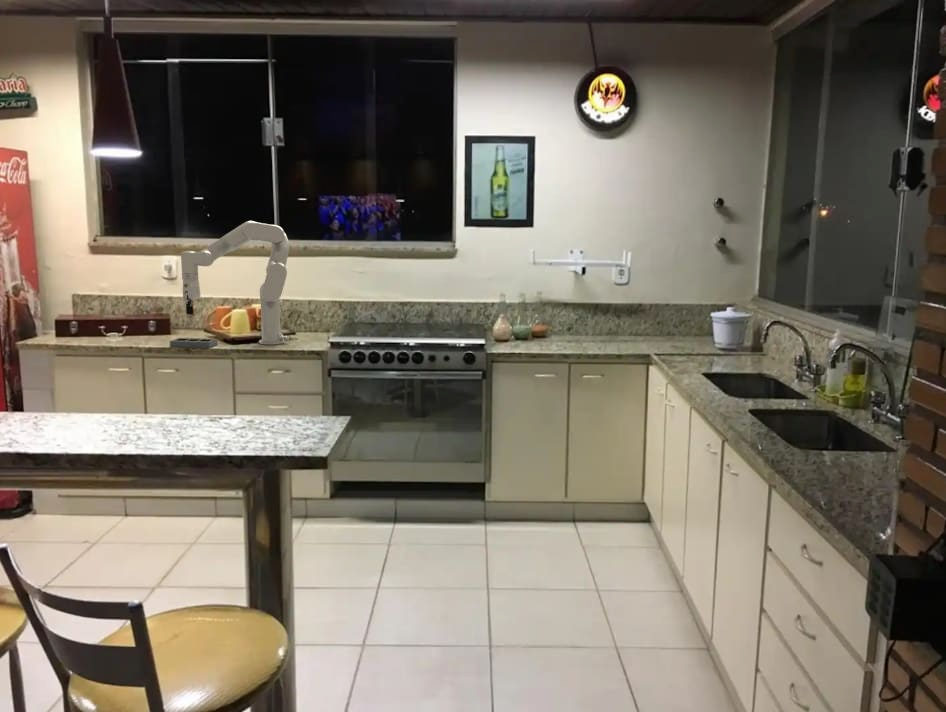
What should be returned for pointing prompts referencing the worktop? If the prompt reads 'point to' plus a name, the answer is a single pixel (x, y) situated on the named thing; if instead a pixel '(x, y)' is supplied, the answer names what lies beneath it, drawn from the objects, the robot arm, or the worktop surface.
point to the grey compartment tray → (193, 343)
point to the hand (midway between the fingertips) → (191, 313)
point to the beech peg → (195, 313)
